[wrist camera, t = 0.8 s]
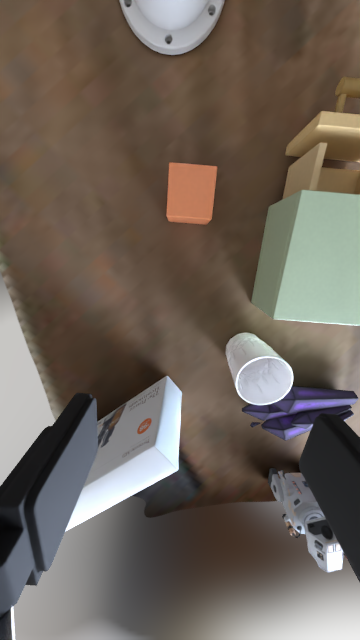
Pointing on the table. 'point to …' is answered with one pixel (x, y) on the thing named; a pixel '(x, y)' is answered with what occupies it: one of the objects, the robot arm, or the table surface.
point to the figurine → (306, 518)
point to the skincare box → (132, 449)
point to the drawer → (327, 148)
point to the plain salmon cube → (190, 193)
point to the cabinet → (311, 259)
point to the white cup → (257, 370)
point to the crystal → (301, 410)
